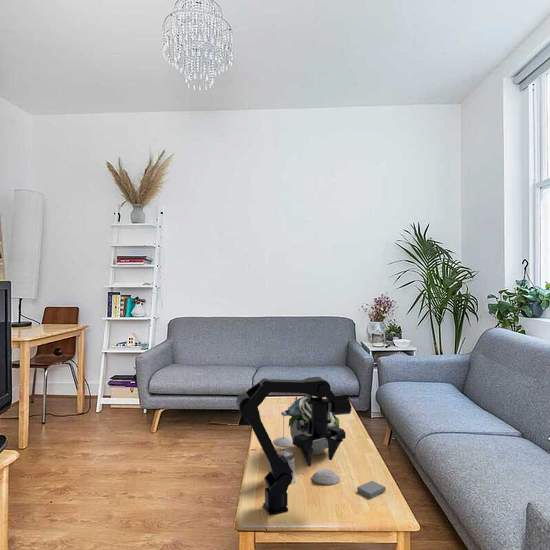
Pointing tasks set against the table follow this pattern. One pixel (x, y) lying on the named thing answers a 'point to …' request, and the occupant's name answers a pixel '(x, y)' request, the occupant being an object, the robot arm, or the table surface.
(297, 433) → the flower arrangement
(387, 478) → the table surface
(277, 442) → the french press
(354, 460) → the table surface
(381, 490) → the glazed tile
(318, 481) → the seashell
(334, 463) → the table surface
